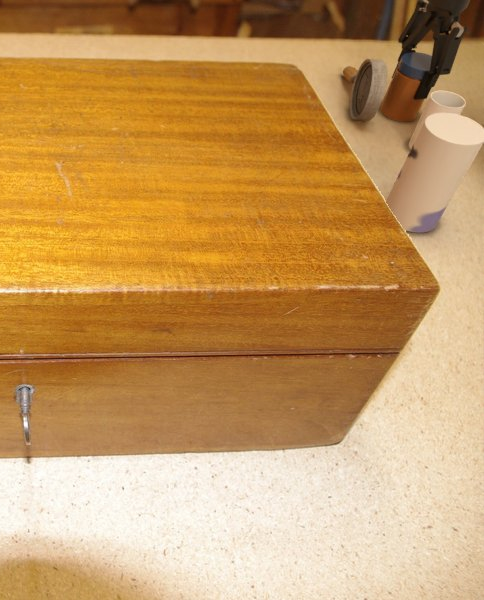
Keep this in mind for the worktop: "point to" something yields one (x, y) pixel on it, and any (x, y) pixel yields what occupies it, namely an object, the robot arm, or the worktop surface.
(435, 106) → the mug
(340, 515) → the worktop surface
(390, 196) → the container
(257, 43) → the worktop surface
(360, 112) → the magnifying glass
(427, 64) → the lid
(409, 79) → the jar
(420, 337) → the worktop surface
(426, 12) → the robot arm
